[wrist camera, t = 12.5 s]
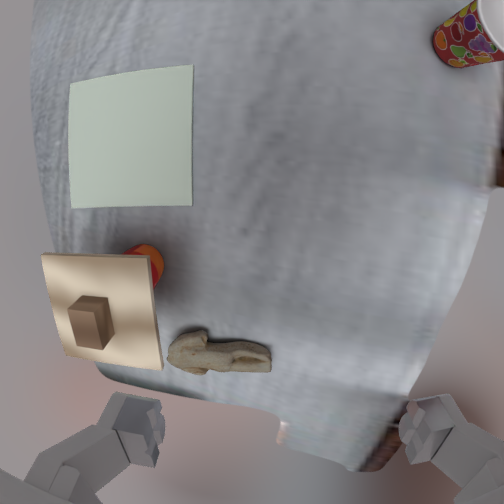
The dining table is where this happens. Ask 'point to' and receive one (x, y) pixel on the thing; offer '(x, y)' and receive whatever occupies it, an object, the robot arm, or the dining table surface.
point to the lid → (105, 307)
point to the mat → (132, 139)
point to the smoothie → (472, 35)
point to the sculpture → (217, 355)
